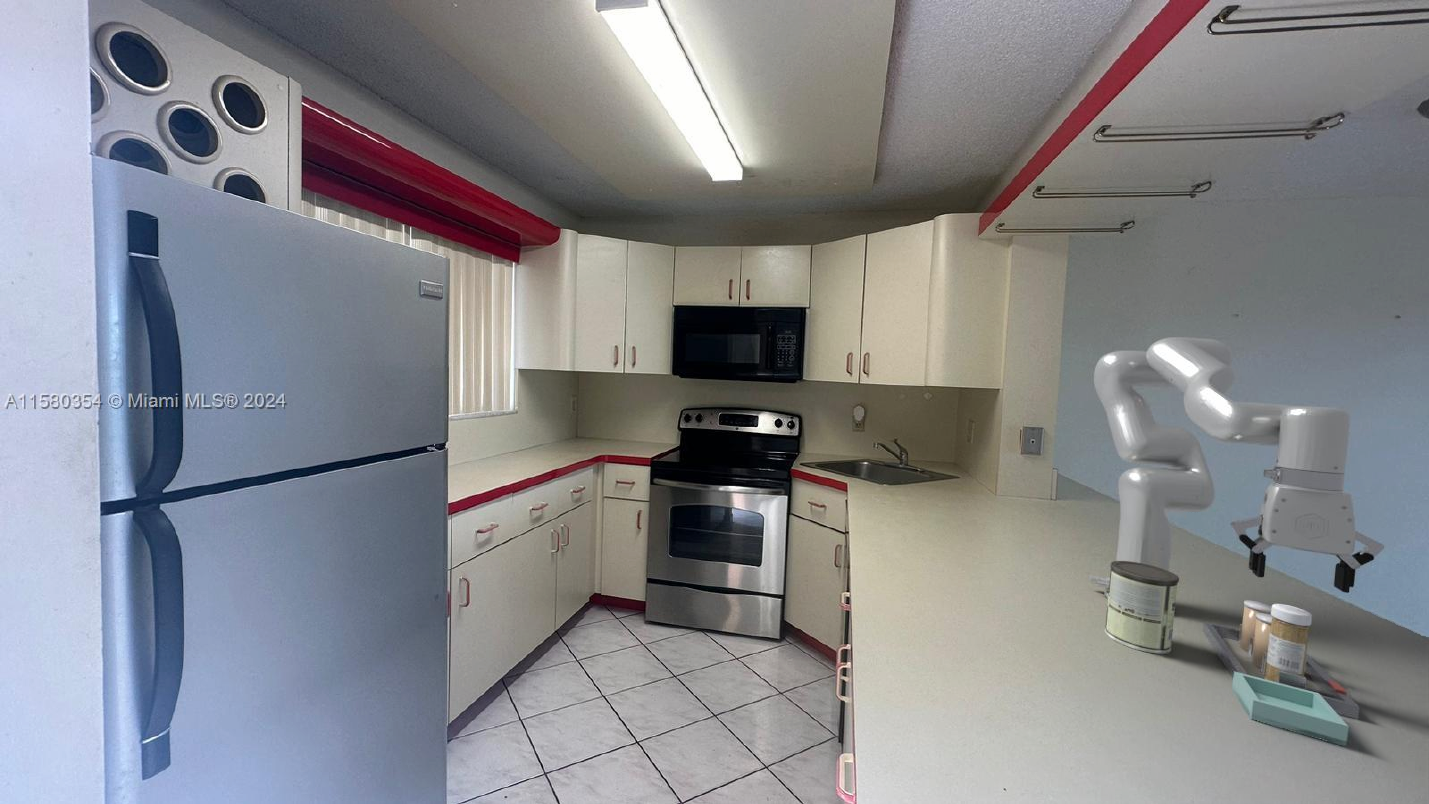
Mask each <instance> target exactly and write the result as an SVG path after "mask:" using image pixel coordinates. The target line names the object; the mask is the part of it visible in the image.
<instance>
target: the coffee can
mask: <svg viewBox="0 0 1429 804" xmlns="http://www.w3.org/2000/svg"><path fill="white" fill-rule="evenodd" d="M1109 575H1110V576H1109V577H1110V584H1109V595H1108V598H1107V607H1106V608H1107V609H1106V618H1105V619H1106V620H1105V628H1104V633H1105V635H1106V636H1107V637H1108V638H1110V639H1111V640H1113V641H1114V642H1116V643H1117V644H1119V645H1123V646H1124V647H1128V648H1131V649H1133V650H1137V651H1141V652H1145V653H1149V654H1150V653H1151V654H1156V655H1157V654H1158V655H1165V654H1169V653H1170V652H1172V642H1173V641H1172V639H1173V631H1174V630H1173V629H1174V621H1175V609H1176V603H1177V594H1178V593H1177V592H1178V583H1179V582H1180V577H1179V576H1178V575H1177V574H1175V573H1174V572H1171V571H1170V570H1169V571H1167V570H1164V569H1162V568H1158V567H1155V566H1151V565H1147V564H1143V563H1137V562H1130V561H1116V560H1114V561H1112V562H1110V574H1109Z"/></svg>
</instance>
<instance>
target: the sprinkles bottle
mask: <svg viewBox="0 0 1429 804" xmlns="http://www.w3.org/2000/svg"><path fill="white" fill-rule="evenodd" d="M1271 606H1272V608H1271V615H1272V623H1271V631H1270V636H1269V645H1268V653H1267V665H1266V675H1264V678H1263V679H1265V680H1269V681H1273V682H1277V681H1278V673H1279V671H1283V672H1287V673H1291V674H1295V675H1300V676H1304V677H1305V673H1306V672H1305V666H1306V658H1307V654H1308V652H1307V650H1308V642H1309V641H1308V640H1309V632H1310V631H1309V629H1310V628H1311V625H1312V622H1313V621H1312V620H1313V618H1312V617H1313V615H1312V614H1311V612H1309V611H1307V610H1305V609H1302V608H1301V607H1300V608H1299V607H1296V606H1293V605H1288V604H1285V603H1284V604H1282V603H1274V604H1272V605H1271ZM1306 653H1307V654H1306Z"/></svg>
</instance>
